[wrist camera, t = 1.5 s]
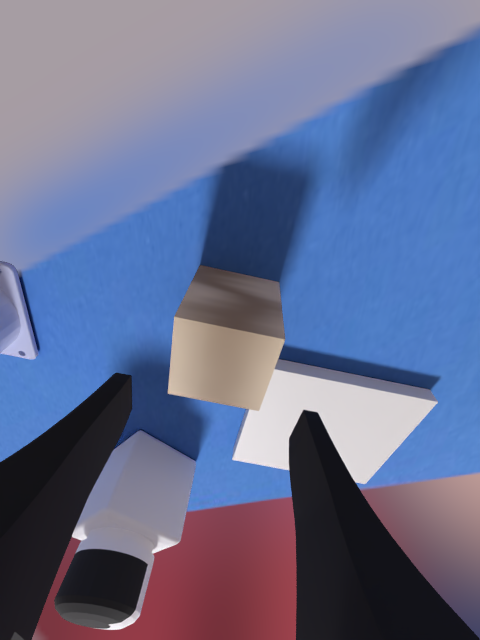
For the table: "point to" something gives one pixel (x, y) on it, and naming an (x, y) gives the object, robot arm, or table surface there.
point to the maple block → (226, 338)
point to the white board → (332, 416)
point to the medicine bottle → (125, 532)
